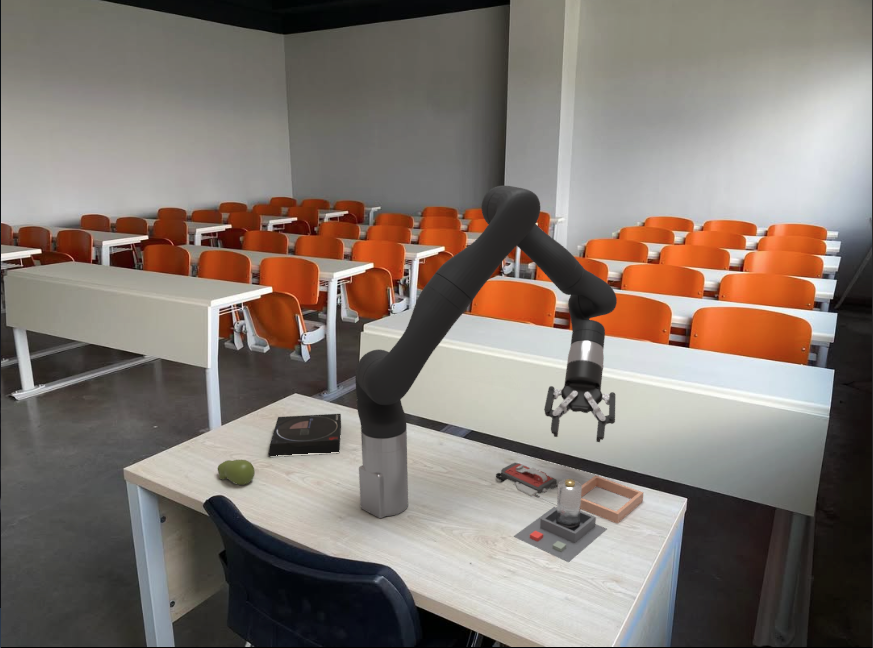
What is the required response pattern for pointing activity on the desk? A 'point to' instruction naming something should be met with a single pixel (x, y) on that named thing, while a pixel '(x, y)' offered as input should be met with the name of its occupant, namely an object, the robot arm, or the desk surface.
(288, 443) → the portable cd player
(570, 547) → the checker plate
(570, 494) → the cell
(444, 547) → the desk surface
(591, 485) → the pot
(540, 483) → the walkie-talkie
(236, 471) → the pear
